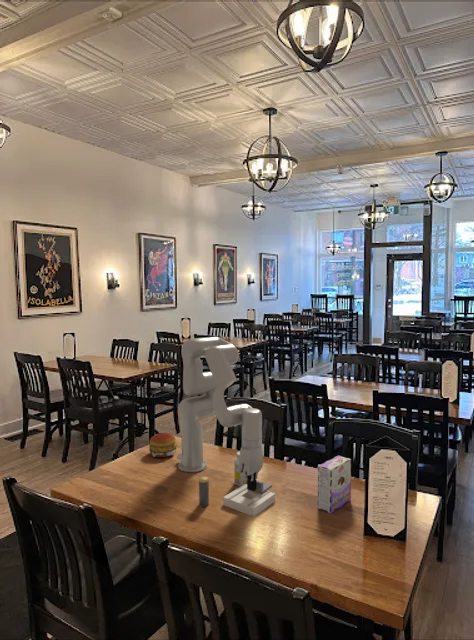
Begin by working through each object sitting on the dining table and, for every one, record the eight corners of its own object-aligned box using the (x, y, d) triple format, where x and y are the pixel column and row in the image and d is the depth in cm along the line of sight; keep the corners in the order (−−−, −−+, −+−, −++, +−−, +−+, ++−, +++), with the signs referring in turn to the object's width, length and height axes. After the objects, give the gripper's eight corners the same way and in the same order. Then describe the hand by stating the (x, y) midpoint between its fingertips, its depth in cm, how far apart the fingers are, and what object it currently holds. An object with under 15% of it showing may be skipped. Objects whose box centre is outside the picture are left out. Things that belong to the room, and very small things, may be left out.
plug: (196, 505, 164) (196, 479, 164) (203, 501, 167) (203, 475, 167) (204, 508, 162) (204, 481, 161) (210, 504, 165) (210, 478, 164)
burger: (163, 447, 224) (162, 427, 224) (183, 452, 216) (182, 432, 216) (143, 455, 213) (142, 435, 213) (163, 461, 205) (163, 440, 205)
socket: (223, 505, 164) (223, 496, 164) (245, 491, 176) (245, 483, 175) (254, 516, 156) (254, 507, 156) (275, 501, 167) (275, 492, 167)
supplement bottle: (251, 480, 185) (251, 450, 184) (250, 487, 179) (250, 456, 178) (235, 479, 186) (235, 449, 185) (233, 486, 180) (233, 455, 179)
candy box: (337, 495, 171) (338, 454, 170) (351, 501, 167) (351, 458, 166) (316, 508, 162) (317, 464, 161) (330, 514, 158) (331, 469, 156)
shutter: (247, 488, 170) (247, 479, 170) (257, 482, 176) (257, 472, 176) (262, 493, 166) (262, 483, 166) (272, 486, 172) (272, 477, 172)
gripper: (254, 434, 173) (254, 480, 175) (231, 445, 162) (231, 494, 163) (271, 438, 169) (270, 485, 170) (248, 450, 157) (248, 500, 158)
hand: (251, 489), depth 167 cm, fingers closed
